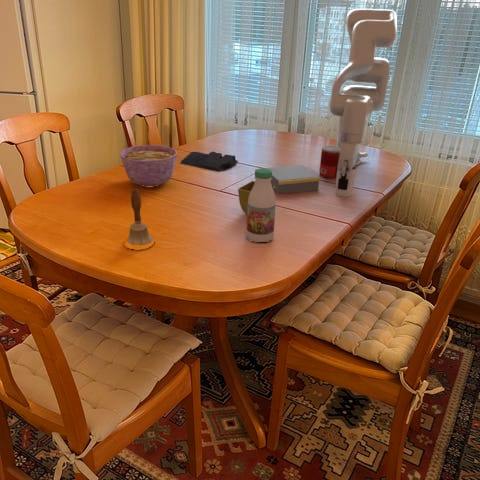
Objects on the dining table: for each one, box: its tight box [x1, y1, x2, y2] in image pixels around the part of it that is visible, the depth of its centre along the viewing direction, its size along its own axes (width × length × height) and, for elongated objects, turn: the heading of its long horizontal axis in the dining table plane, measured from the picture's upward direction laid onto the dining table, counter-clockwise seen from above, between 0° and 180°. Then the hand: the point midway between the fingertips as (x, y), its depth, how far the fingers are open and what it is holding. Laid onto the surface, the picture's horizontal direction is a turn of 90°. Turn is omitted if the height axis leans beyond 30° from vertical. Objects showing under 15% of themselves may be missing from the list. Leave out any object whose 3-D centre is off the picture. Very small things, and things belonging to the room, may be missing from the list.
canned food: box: [318, 145, 341, 179], centre depth 178 cm, size 8×8×11 cm
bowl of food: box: [119, 144, 178, 186], centre depth 164 cm, size 20×20×12 cm
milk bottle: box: [246, 167, 277, 243], centre depth 125 cm, size 8×8×20 cm
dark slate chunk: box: [180, 151, 239, 173], centre depth 189 cm, size 15×22×5 cm
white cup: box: [334, 165, 358, 198], centre depth 161 cm, size 7×7×10 cm
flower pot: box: [237, 180, 275, 215], centre depth 143 cm, size 9×9×9 cm
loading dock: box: [264, 164, 321, 195], centre depth 168 cm, size 16×15×5 cm
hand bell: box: [126, 188, 154, 246], centre depth 121 cm, size 8×8×16 cm
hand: (344, 184), depth 162 cm, fingers open, 9 cm apart
